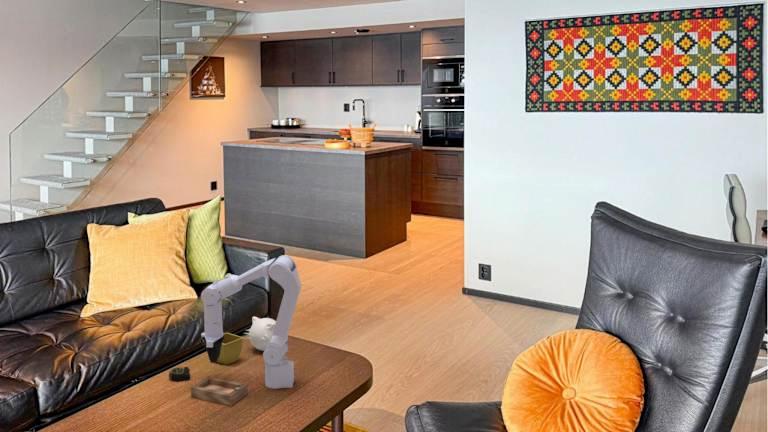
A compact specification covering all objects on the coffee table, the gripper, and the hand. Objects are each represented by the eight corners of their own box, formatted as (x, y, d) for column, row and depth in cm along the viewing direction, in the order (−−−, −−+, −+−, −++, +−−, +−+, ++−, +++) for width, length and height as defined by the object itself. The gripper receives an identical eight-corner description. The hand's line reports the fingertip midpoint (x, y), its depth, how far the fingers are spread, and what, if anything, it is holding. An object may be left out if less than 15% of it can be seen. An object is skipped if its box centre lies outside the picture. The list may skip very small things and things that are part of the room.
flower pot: (227, 354, 249) (227, 331, 247) (244, 360, 244) (243, 337, 242) (209, 362, 242) (208, 338, 240) (225, 368, 237) (224, 344, 235)
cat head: (293, 349, 255) (292, 318, 253) (267, 360, 245) (266, 328, 243) (266, 339, 264) (265, 310, 262) (240, 349, 254) (239, 318, 252)
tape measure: (190, 383, 225) (190, 373, 225) (169, 386, 223) (168, 375, 223) (190, 375, 232) (189, 365, 231) (169, 377, 230) (168, 367, 229)
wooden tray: (247, 393, 216) (247, 382, 215) (231, 405, 208) (230, 394, 207) (208, 385, 221) (208, 374, 221) (191, 397, 213) (190, 385, 212)
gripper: (205, 313, 228) (207, 351, 231) (196, 328, 214) (197, 369, 217) (226, 313, 228) (227, 351, 231) (218, 328, 214) (220, 368, 217)
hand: (214, 359), depth 224 cm, fingers open, 3 cm apart
